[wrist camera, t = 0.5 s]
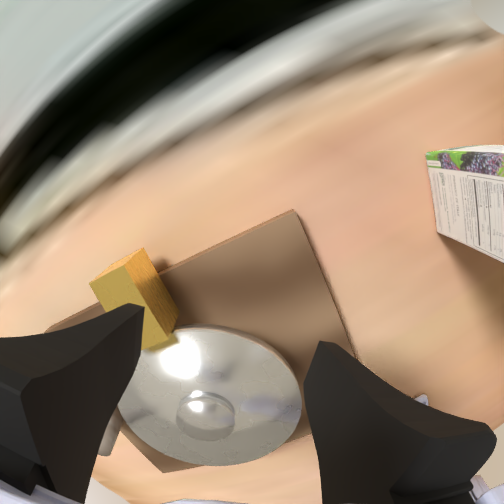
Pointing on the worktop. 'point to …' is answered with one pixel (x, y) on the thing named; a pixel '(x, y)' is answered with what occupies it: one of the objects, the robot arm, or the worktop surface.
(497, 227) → the syrup box
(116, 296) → the small silver pan
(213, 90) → the worktop surface
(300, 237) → the post board
